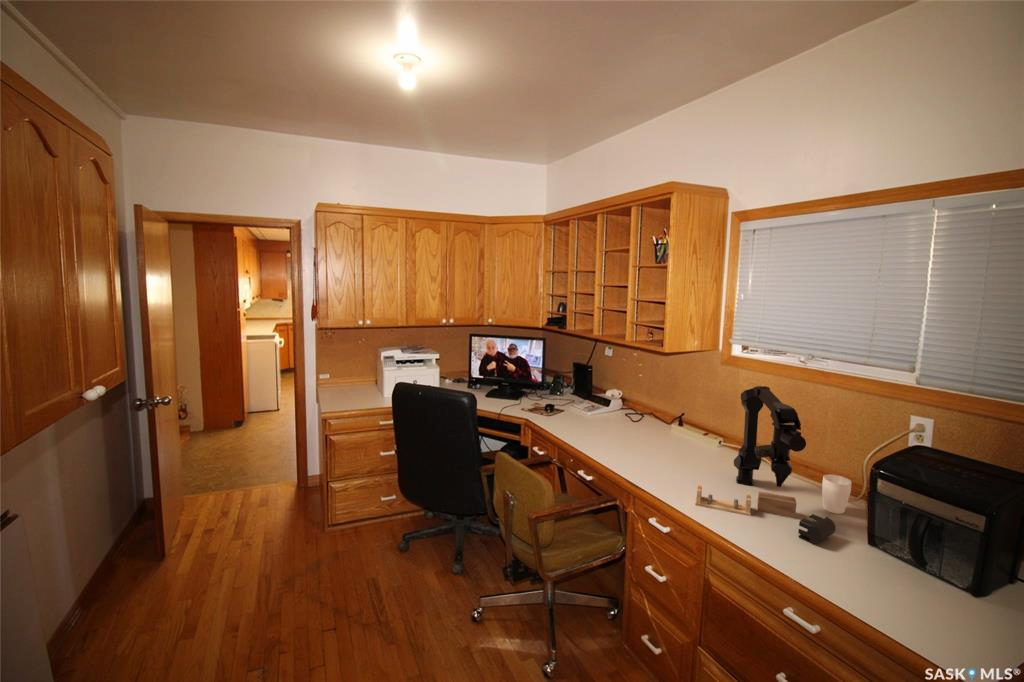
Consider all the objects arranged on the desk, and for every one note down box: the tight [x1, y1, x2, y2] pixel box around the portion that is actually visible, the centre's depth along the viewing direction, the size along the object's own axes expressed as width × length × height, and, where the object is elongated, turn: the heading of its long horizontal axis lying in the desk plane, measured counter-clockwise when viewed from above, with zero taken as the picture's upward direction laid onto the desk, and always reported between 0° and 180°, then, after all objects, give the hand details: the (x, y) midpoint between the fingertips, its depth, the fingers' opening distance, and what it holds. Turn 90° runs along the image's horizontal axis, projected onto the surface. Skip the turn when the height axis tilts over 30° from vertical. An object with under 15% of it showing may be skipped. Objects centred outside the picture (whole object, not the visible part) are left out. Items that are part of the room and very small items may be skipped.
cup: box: [821, 474, 852, 515], centre depth 181 cm, size 9×9×12 cm
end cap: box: [797, 513, 837, 545], centre depth 162 cm, size 10×7×7 cm
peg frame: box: [694, 483, 752, 517], centre depth 183 cm, size 7×19×6 cm, turn 65°
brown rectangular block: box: [756, 490, 798, 519], centre depth 179 cm, size 5×12×6 cm, turn 65°
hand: (777, 481), depth 178 cm, fingers open, 9 cm apart
